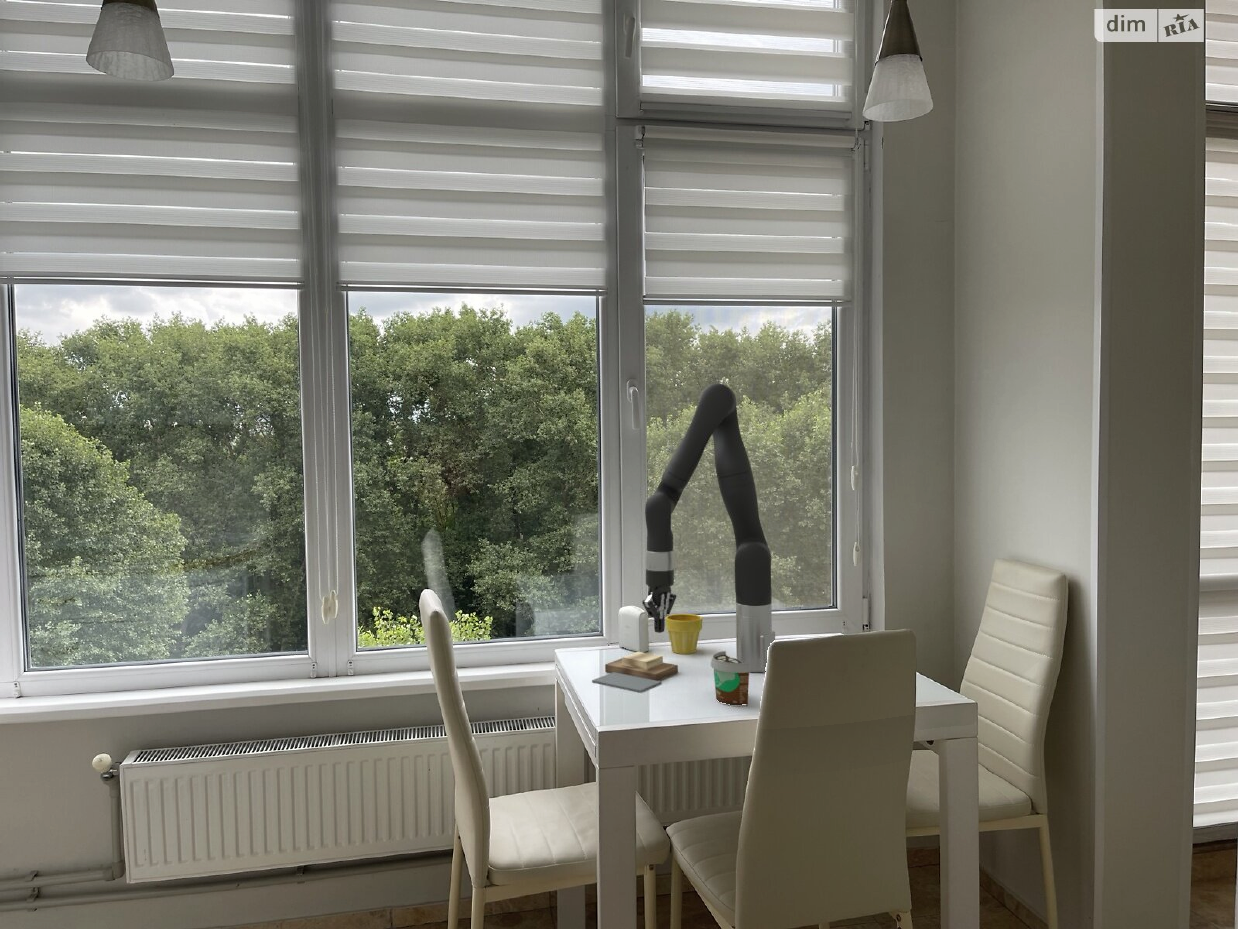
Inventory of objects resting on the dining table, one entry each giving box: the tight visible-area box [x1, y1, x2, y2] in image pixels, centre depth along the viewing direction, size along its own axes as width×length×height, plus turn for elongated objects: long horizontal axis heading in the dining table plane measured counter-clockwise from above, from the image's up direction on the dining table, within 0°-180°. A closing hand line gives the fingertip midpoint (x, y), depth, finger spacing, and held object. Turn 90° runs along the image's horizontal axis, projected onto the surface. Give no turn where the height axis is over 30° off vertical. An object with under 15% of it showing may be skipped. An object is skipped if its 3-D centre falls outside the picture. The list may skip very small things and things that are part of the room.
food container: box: [710, 650, 752, 706], centre depth 197 cm, size 12×6×10 cm, turn 21°
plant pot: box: [665, 613, 703, 655], centre depth 243 cm, size 10×10×10 cm
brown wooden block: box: [604, 658, 679, 681], centre depth 222 cm, size 16×10×2 cm, turn 52°
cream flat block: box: [621, 651, 664, 670], centre depth 222 cm, size 8×7×2 cm
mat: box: [591, 672, 663, 694], centre depth 213 cm, size 15×9×1 cm, turn 52°
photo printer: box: [617, 605, 650, 653], centre depth 246 cm, size 10×4×12 cm, turn 39°
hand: (659, 631), depth 229 cm, fingers closed
